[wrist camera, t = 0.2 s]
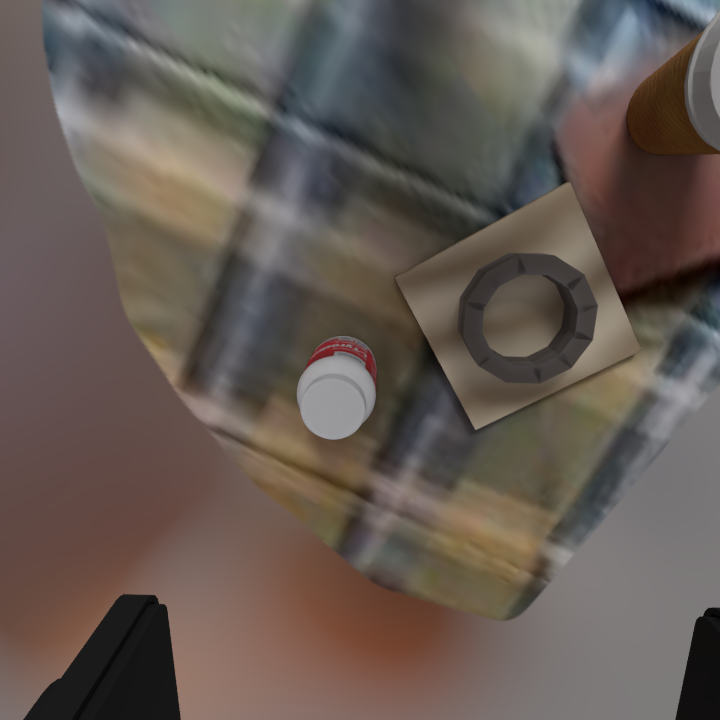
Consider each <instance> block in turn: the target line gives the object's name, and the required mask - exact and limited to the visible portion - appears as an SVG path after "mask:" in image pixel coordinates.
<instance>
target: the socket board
mask: <svg viewBox="0 0 720 720" xmlns="http://www.w3.org/2000/svg"><path fill="white" fill-rule="evenodd" d="M394 278H395V280H396V282H397V284H398V286H399V287H400V289H401V291H402V293H403V295H404V297H405V299H406V301H407V302H408V304H409V306H410V308H411V310H412V312H413V314H414V316H415V318H416V319H417V321H418V323H419V325H420V327H421V329H422V331H423V333H424V334H425V336H426V338H427V340H428V342H429V344H430V346H431V348H432V349H433V351H434V353H435V355H436V357H437V359H438V361H439V363H440V364H441V366H442V368H443V370H444V372H445V374H446V376H447V378H448V380H449V381H450V383H451V385H452V387H453V389H454V391H455V393H456V395H457V396H458V398H459V400H460V402H461V404H462V406H463V408H464V410H465V411H466V413H467V415H468V417H469V419H470V421H471V423H472V425H473V426H474V428H475V430H477V429H479V428H481V427H483V426H485V425H487V424H489V423H491V422H494V421H496V420H498V419H500V418H502V417H504V416H506V415H508V414H510V413H512V412H514V411H517V410H519V409H521V408H523V407H525V406H527V405H529V404H531V403H533V402H535V401H537V400H539V399H542V398H544V397H546V396H548V395H550V394H552V393H554V392H556V391H558V390H560V389H562V388H564V387H567V386H569V385H571V384H573V383H575V382H577V381H579V380H581V379H583V378H585V377H587V376H590V375H592V374H594V373H596V372H598V371H600V370H602V369H604V368H606V367H608V366H610V365H612V364H615V363H617V362H619V361H621V360H623V359H625V358H627V357H629V356H631V355H633V354H635V353H637V352H640V351H641V348H640V346H639V344H638V341H637V339H636V337H635V334H634V332H633V329H632V327H631V325H630V322H629V320H628V318H627V315H626V313H625V311H624V308H623V306H622V303H621V301H620V299H619V296H618V294H617V292H616V289H615V287H614V285H613V282H612V280H611V277H610V275H609V273H608V270H607V268H606V266H605V263H604V261H603V259H602V256H601V254H600V251H599V249H598V247H597V244H596V242H595V240H594V237H593V235H592V233H591V230H590V228H589V225H588V223H587V221H586V218H585V216H584V214H583V211H582V209H581V207H580V204H579V202H578V199H577V197H576V195H575V192H574V190H573V188H572V185H571V183H570V182H567V183H564V184H563V185H561V186H559V187H557V188H555V189H554V190H552V191H550V192H548V193H546V194H544V195H543V196H541V197H539V198H537V199H535V200H534V201H532V202H530V203H528V204H526V205H525V206H523V207H521V208H519V209H517V210H515V211H514V212H512V213H510V214H508V215H506V216H505V217H503V218H501V219H499V220H497V221H495V222H494V223H492V224H490V225H488V226H486V227H485V228H483V229H481V230H479V231H477V232H475V233H474V234H472V235H470V236H468V237H466V238H465V239H463V240H461V241H459V242H457V243H455V244H454V245H452V246H450V247H448V248H446V249H445V250H443V251H441V252H439V253H437V254H435V255H434V256H432V257H430V258H428V259H426V260H425V261H423V262H421V263H419V264H417V265H416V266H414V267H412V268H410V269H408V270H406V271H405V272H403V273H401V274H399V275H397V276H396V277H394Z"/></svg>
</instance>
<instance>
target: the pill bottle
mask: <svg viewBox="0 0 720 720" xmlns="http://www.w3.org/2000/svg"><path fill="white" fill-rule="evenodd" d="M376 376H377V366H376V361H375V358H374V355H373V353H372V351H371V350H370V349H369V347H368V346H367V345H366V344H364V343H363V342H362V341H360V340H358V339H356V338H353V337H349V336H336V337H332V338H330V339H327V340H326V341H324V342H323V343H321V344H320V345H319V346H318V347H317V348H316V350H315V351H314V353H313V355H312V356H311V358H310V360H309V362H308V364H307V366H306V368H305V370H304V372H303V373H302V375H301V378H300V380H299V383H298V386H297V402H298V406H299V408H300V411H301V416H302V419H303V421H304V423H305V425H306V426H307V428H308V429H309V430H310V431H311V432H313V433H314V434H316V435H317V436H319V437H322V438H325V439H330V440H337V439H342V438H345V437H348V436H350V435H351V434H353V433H354V432H355V431H356V430H357V429H358V428H359V427H360V426H361V424H362V423H363V422H364V421H366V419H367V418H368V417H369V415H370V414H371V412H372V410H373V408H374V404H375V399H376Z"/></svg>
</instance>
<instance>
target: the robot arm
mask: <svg viewBox="0 0 720 720" xmlns="http://www.w3.org/2000/svg"><path fill="white" fill-rule="evenodd" d="M23 720H181V719H180V711H179V702H178V693H177V685H176V677H175V669H174V661H173V652H172V644H171V637H170V628H169V620H168V611H167V607H166V605H164V604H159V602H158V598H156V596H155V595H129V594H126V595H125V594H124V595H122V596H120V597H119V598H118V599H117V600H116V601H115V603H114V604H113V606H112V607H111V608H110V610H109V611H108V613H107V614H106V616H105V617H104V618H103V620H102V621H101V623H100V624H99V625H98V627H97V628H96V630H95V631H94V633H93V634H92V635H91V637H90V638H89V640H88V641H87V643H86V644H85V645H84V647H83V648H82V649H81V651H80V652H79V654H78V655H77V657H76V658H75V659H74V661H73V662H72V663H71V665H70V666H69V668H68V669H67V671H66V672H65V673H64V675H63V676H62V678H61V679H57V680H56V681H54V682H53V683H52V684H50V685H49V687H48V688H47V689H46V690H45V691H44V692H43V693H42V695H41V696H40V698H39V699H38V700H37V702H36V703H35V704H34V706H33V707H32V708H31V710H30V711H29V713H28V714H27V715H26V717H25V718H24V719H23ZM676 720H720V608H708V609H707V610H706V611H705V613H704V615H703V617H699V618H698V619H697V620H696V623H695V627H694V632H693V637H692V642H691V647H690V652H689V657H688V661H687V666H686V671H685V676H684V680H683V685H682V690H681V695H680V700H679V705H678V710H677V715H676Z"/></svg>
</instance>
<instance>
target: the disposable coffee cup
mask: <svg viewBox="0 0 720 720" xmlns="http://www.w3.org/2000/svg"><path fill="white" fill-rule="evenodd" d="M627 125H628V130H629V133H630V136H631V138H632V140H633V141H634V142H635V144H636V145H637V146H638V147H639V148H641V149H642V150H643V151H646V152H648V153H650V154H655V155H691V154H720V11H719V12H718V13H717V14H716V15H715V17H714V18H713V19H712V20H711V21H710V23H709V24H708V25H707V27H706V28H705V30H704V31H703V32H702V33H701V34H700V35H699V36H697V37H696V38H695V39H694V40H692V41H691V42H690V43H689V44H688V45H686V46H685V47H684V48H683V49H682V50H681V51H679V52H678V53H677V54H676V55H675V56H674V57H672V58H671V59H670V60H669V61H667V62H666V63H665V64H664V65H663V66H662V67H661V68H659V69H658V70H657V71H655V72H654V73H653V74H652V75H651V76H649V77H648V78H647V79H646V80H645V81H644V82H643V83H641V84H640V86H639V87H638V88H637V90H636V91H635V93H634V94H633V96H632V98H631V101H630V104H629V108H628V112H627Z"/></svg>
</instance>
